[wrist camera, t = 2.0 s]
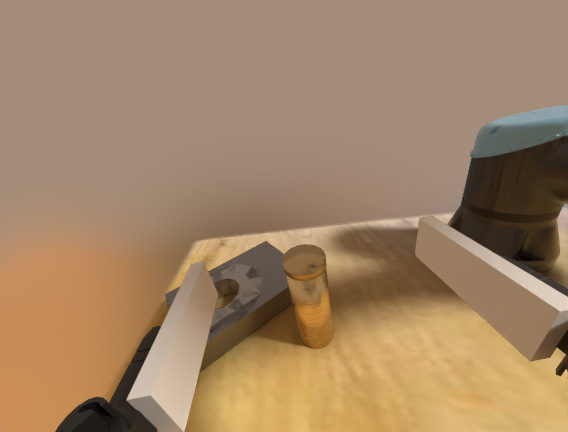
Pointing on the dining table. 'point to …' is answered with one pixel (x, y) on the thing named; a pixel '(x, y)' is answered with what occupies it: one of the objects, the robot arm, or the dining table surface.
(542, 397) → the dining table surface
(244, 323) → the jig
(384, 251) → the dining table surface
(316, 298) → the amber cylindrical peg
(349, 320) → the dining table surface
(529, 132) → the robot arm
